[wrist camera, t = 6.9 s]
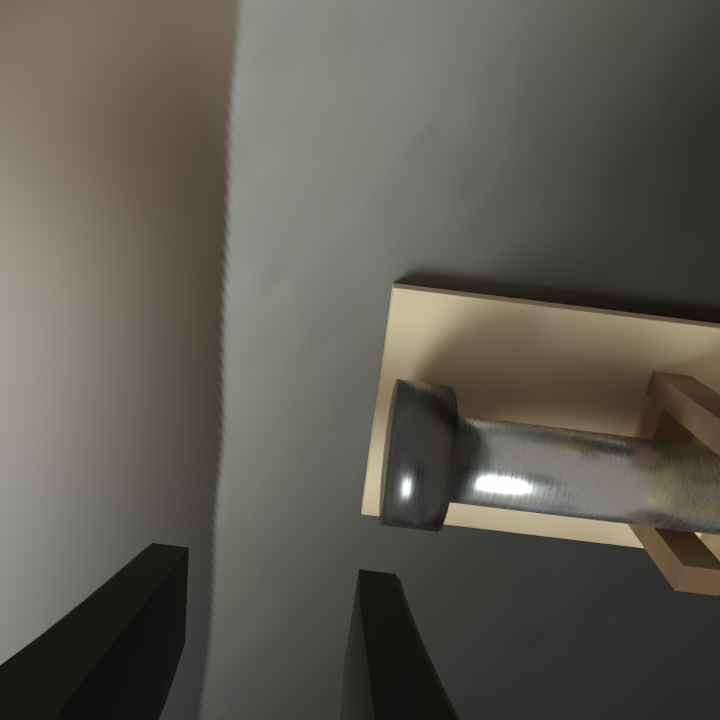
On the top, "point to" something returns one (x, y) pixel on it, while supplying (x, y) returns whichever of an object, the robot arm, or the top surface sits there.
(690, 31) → the top surface
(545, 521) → the bearing bed
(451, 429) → the shaft
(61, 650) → the robot arm
